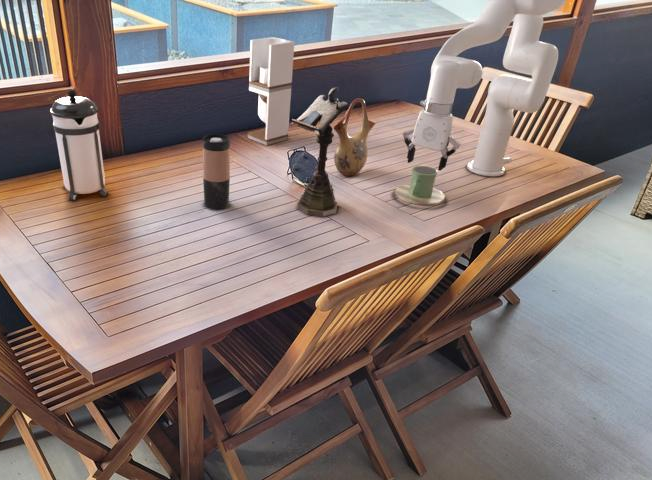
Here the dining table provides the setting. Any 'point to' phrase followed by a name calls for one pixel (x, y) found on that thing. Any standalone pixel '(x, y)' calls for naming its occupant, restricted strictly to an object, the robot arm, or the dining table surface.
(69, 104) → the coffee press
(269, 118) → the white dispenser tower
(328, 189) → the ornate book stand
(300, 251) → the dining table surface
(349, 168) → the ceramic vessel
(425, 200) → the coffee cup on saucer
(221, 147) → the travel mug
